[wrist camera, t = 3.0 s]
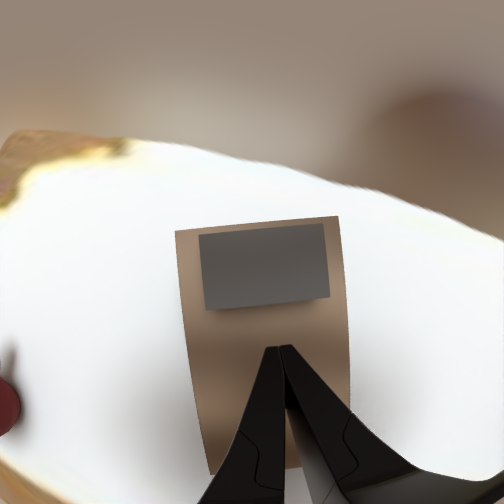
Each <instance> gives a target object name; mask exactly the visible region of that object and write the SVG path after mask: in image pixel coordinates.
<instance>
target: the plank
mask: <svg viewBox="0 0 504 504" xmlns="http://www.w3.org/2000/svg"><path fill="white" fill-rule="evenodd" d="M175 241H176V254H177V265H178V276H179V286H180V296H181V305H182V313H183V321H184V329H185V337H186V344H187V351H188V358H189V365H190V372H191V378H192V384H193V390H194V396H195V402H196V407H197V413H198V418H199V424H200V429H201V434H202V439H203V444H204V448H205V453H206V458H207V462H208V467H209V471H210V475H215V474H216V473H217V471H218V469H219V468H220V466H221V464H222V462H223V460H224V458H225V456H226V454H227V452H228V450H229V448H230V445H231V443H232V441H233V438H234V435H235V433H236V430H238V429H237V428H238V425H239V422H240V419H241V417H242V414H243V411H244V408H245V406H246V403H247V400H248V397H249V394H250V391H251V389H252V386H253V383H254V380H255V377H256V374H257V371H258V368H259V365H260V362H261V359H262V356H263V353H264V350H265V348H266V347H269V346H278V347H279V346H280V345H286V344H292V345H293V346H294V347H295V348H296V349H297V351H298V352H299V353H300V354H301V355H302V356H303V357H304V359H305V360H306V361H307V362H308V363H309V364H310V365H311V366H312V368H313V369H314V370H315V371H316V372H317V373H318V374H319V376H320V377H321V378H322V379H323V380H324V381H325V382H326V383H327V384H328V386H329V387H330V388H331V389H332V390H333V391H334V392H335V393H336V395H337V396H338V397H339V398H340V399H341V400H342V401H343V402H344V403H345V404H346V406H347V407H348V408H349V409H350V360H349V333H348V315H347V299H346V286H345V275H344V264H343V254H342V244H341V236H340V227H339V219H338V216H330V217H317V218H304V219H292V220H280V221H269V222H258V223H247V224H237V225H227V226H217V227H207V228H198V229H188V230H179V231H175ZM299 467H302V465H301V462H300V458H299V455H298V451H297V448H296V444H295V441H294V437H293V434H292V430H291V427H290V423H289V420H288V416H287V412H286V438H285V469H292V468H299Z"/></svg>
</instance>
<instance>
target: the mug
mask: <svg viewBox="0 0 504 504" xmlns="http://www.w3.org/2000/svg"><path fill="white" fill-rule="evenodd" d="M19 414H20V401H19V398H18V395H17V393H16V392H15V390H14V389H13V387H12V386H11V385H9V384H8V383H7V382H6V381H4V380H3V379H2V378H1V377H0V436H2V435H4V434H5V433H7V432H8V431H9V430H10V429H11V428H12V426H13V425H14V423H15V422H16V420H17V418H18V417H19Z"/></svg>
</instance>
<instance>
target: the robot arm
mask: <svg viewBox="0 0 504 504" xmlns="http://www.w3.org/2000/svg"><path fill="white" fill-rule="evenodd" d="M286 412H287V416H288V420H289V423H290V427H291V430H292V434H293V437H294V441H295V444H296V448H297V451H298V455H299V458H300V462H301V465H302V469H303V472H304V475H305V479H306V482H307V486H308V489H309V493H310V496H311V499H312V503H313V504H504V470H503V471H501V472H500V473H498V474H497V475H495V476H494V477H492V478H490V479H488V480H484V481H470V480H464V479H459V478H454V477H450V476H445V475H441V474H436V473H432V472H428V471H425V470H422V469H420V468H418V467H416V466H414V465H412V464H411V463H410V462H408V461H407V460H406V459H404V458H403V457H402V456H400V455H399V454H398V453H397V452H395V451H394V450H393V449H392V448H390V447H389V446H388V445H387V444H385V443H384V442H383V441H382V440H381V439H379V438H378V437H377V436H376V435H375V434H374V433H372V432H371V431H370V430H369V429H368V428H367V427H366V426H365V425H364V424H363V423H362V422H361V421H360V420H359V419H358V417H357V416H356V415H355V414H354V413H352V411H351V410H350V409H349V408H348V407H347V406H346V404H345V403H344V402H343V401H342V400H341V399H340V398H339V397H338V396H337V395H336V393H335V392H334V391H333V390H332V389H331V388H330V387H329V386H328V384H327V383H326V382H325V381H324V380H323V379H322V378H321V377H320V376H319V374H318V373H317V372H316V371H315V370H314V369H313V368H312V366H311V365H310V364H309V363H308V362H307V361H306V360H305V359H304V357H303V356H302V355H301V354H300V353H299V352H298V351H297V349H296V348H295V347H294V346H293V345H292V344H286V345H280V346H279V347H278V346H269V347H266V348H265V350H264V353H263V356H262V359H261V362H260V365H259V368H258V371H257V374H256V377H255V380H254V383H253V386H252V389H251V391H250V394H249V397H248V400H247V403H246V406H245V408H244V411H243V414H242V417H241V419H240V422H239V425H238V428H237V429H238V430H236V433H235V435H234V438H233V441H232V443H231V445H230V448H229V450H228V452H227V454H226V456H225V458H224V460H223V462H222V464H221V466H220V468H219V469H218V471H217V473H216V474H215V476H214V478H213V479H212V481H211V483H210V484H209V486H208V488H207V489H206V491H205V493H204V494H203V496H202V497H201V499H200V500H199V502H198V503H197V504H284V502H285V438H286Z"/></svg>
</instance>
